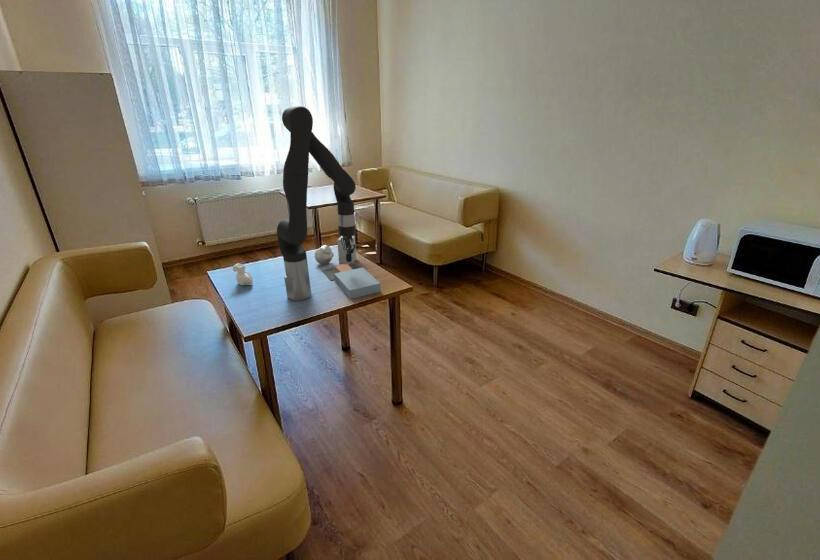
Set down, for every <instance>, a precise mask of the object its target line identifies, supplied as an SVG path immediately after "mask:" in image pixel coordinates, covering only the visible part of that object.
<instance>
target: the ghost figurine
mask: <svg viewBox="0 0 820 560" xmlns="http://www.w3.org/2000/svg"><path fill="white" fill-rule="evenodd" d="M332 250H333V249H332V248H331V247H330V246H328V245H326V244H325V245H322V246H321V247H319V248H317V249H316V250H315V252H314V259H315V262H317V263H318V264H319V265H322V266H323V265H327V264H328V265H329V264H330V263H331V261H332V260H333V258H334V255H335V254H334V252H332Z"/></svg>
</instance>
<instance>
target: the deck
mask: <svg viewBox="0 0 820 560" xmlns="http://www.w3.org/2000/svg"><path fill="white" fill-rule="evenodd" d="M334 277H335V280H334V282H335V283H336V285H337V286H338V287H339V288H340V289H341V290H342V291H343V292H344V294H345V295H346V296H347V297H348V298H349V299H350V300H352V299H356V298H360V297H364V296H368V295H372V294H377V293H381V283H380V281H378V279H376V278H375V277H374V276H373V275H372V274H371V273H369V271H367V270H366V269H365V268H364V267H359V268H358V269H354V270H349V271H344V272H339V273H335V274H334Z"/></svg>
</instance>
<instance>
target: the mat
mask: <svg viewBox="0 0 820 560" xmlns="http://www.w3.org/2000/svg"><path fill="white" fill-rule="evenodd" d="M348 265H349V266H350V267H351V268H352V269H353V270H354V269H358V268H360V267H359V266H358V265H357V264H356V263H354V262H353V264H348ZM321 271H322V273H323V274H324V275H325V276H326V277H327V278H328V280H329V281H330V282H333V281H335V277H334V274H335V273H336V271H335V266H334V267H330V268H324V269H321Z"/></svg>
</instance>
